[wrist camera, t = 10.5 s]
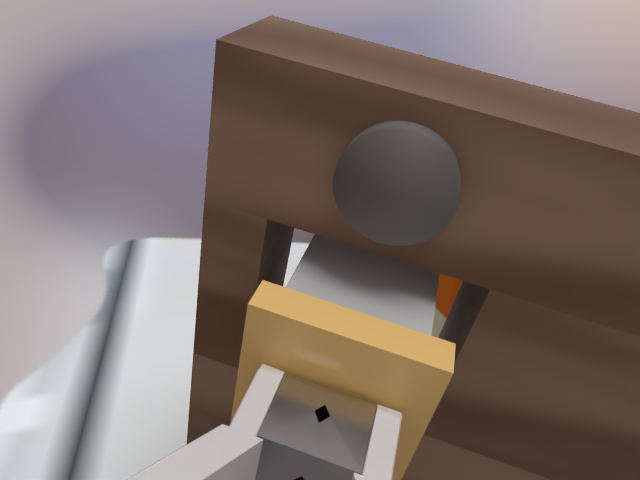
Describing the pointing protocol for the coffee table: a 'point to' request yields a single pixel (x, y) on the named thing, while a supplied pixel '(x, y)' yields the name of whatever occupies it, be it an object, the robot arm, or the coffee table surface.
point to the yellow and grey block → (353, 334)
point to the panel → (437, 237)
